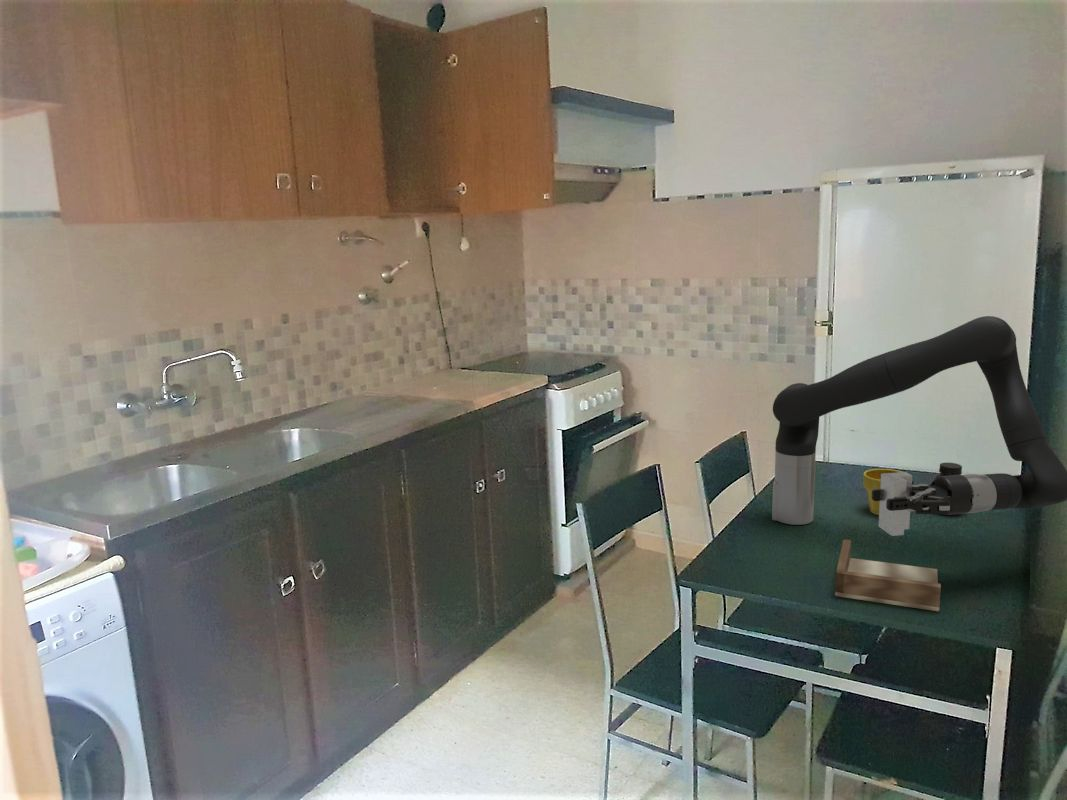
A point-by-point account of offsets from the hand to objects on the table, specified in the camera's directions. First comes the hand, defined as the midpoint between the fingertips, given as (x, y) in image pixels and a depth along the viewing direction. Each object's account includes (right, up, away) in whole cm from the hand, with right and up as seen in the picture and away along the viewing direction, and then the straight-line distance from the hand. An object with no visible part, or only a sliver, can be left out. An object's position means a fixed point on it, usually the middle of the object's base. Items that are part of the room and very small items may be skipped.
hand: (880, 500), depth 154 cm
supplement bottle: (+34, -8, +41) cm, 54 cm away
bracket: (+4, -6, +2) cm, 8 cm away
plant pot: (+19, -9, +43) cm, 48 cm away
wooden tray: (+3, -17, +4) cm, 18 cm away
